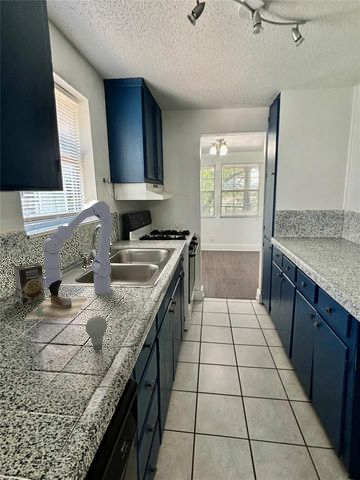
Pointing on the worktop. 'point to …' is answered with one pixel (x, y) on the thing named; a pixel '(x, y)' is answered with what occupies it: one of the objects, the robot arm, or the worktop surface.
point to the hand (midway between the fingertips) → (54, 297)
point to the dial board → (57, 309)
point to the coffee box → (29, 283)
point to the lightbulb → (96, 331)
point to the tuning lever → (61, 301)
